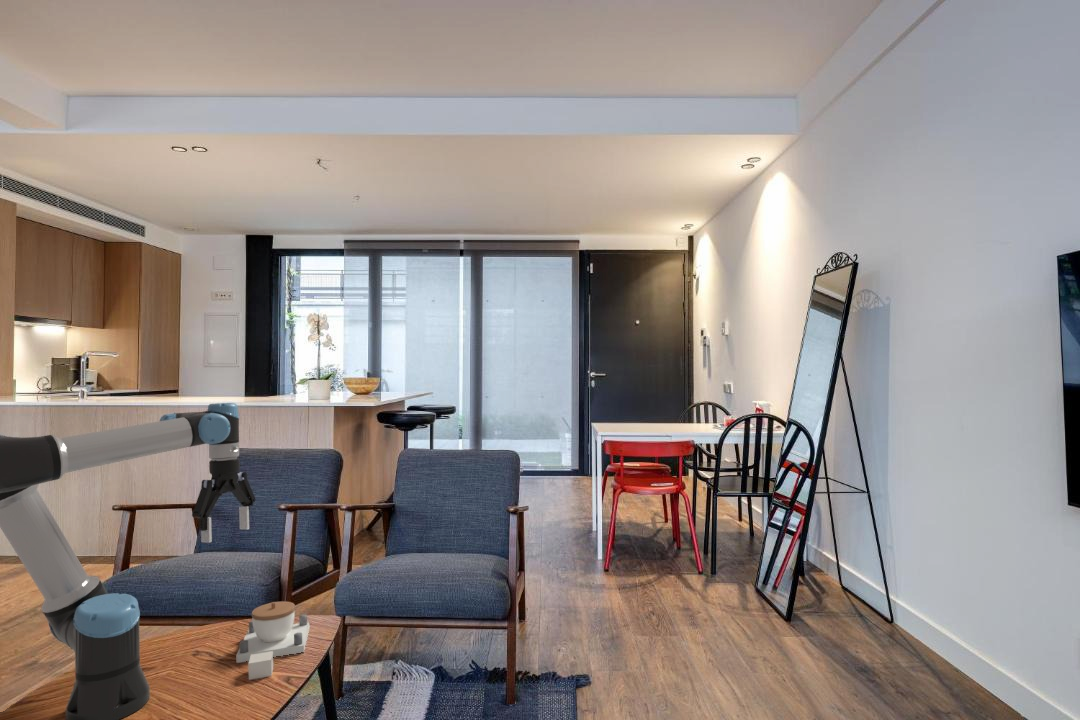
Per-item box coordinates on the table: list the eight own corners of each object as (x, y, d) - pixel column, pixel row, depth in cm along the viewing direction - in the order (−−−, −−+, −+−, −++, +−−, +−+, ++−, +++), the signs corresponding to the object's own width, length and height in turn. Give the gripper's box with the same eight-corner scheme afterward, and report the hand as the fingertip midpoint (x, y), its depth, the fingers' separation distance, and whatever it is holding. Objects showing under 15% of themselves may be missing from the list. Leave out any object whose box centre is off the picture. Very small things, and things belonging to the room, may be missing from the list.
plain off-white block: (248, 680, 145) (248, 663, 146) (251, 671, 150) (250, 654, 150) (271, 676, 147) (271, 659, 147) (273, 667, 152) (272, 651, 152)
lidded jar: (303, 629, 169) (302, 595, 169) (281, 647, 158) (280, 610, 158) (267, 628, 170) (267, 594, 171) (243, 645, 160) (242, 609, 160)
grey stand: (236, 663, 154) (236, 645, 155) (248, 637, 170) (248, 621, 170) (304, 653, 159) (303, 635, 159) (309, 628, 174) (309, 613, 174)
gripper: (198, 465, 157) (200, 548, 156) (267, 452, 181) (269, 524, 180) (175, 465, 159) (177, 547, 158) (246, 452, 183) (248, 523, 182)
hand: (226, 535), depth 169 cm, fingers open, 13 cm apart
